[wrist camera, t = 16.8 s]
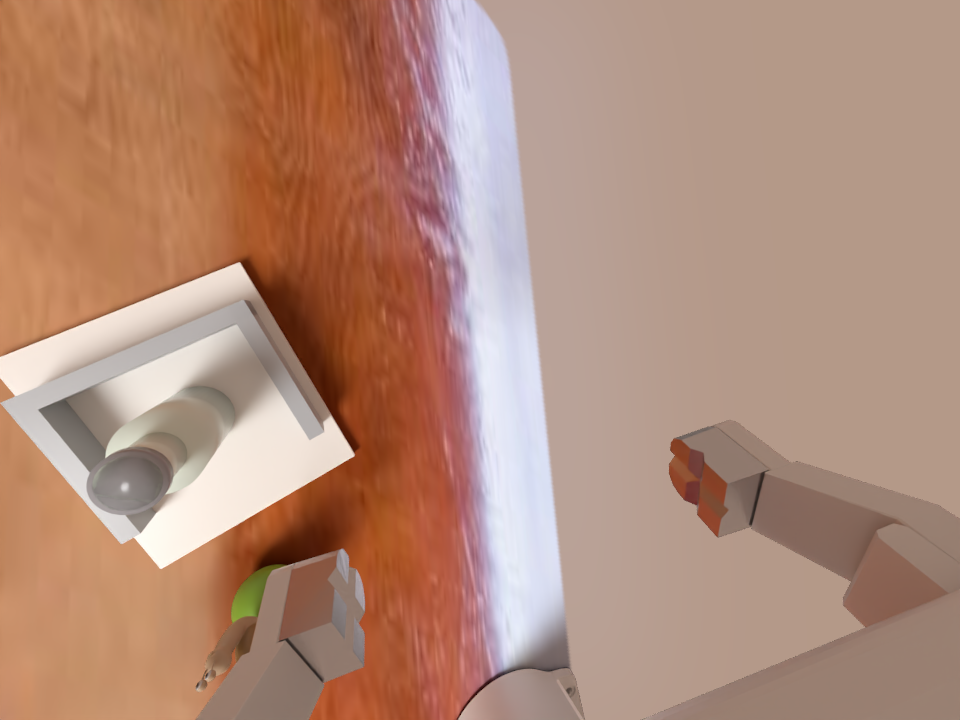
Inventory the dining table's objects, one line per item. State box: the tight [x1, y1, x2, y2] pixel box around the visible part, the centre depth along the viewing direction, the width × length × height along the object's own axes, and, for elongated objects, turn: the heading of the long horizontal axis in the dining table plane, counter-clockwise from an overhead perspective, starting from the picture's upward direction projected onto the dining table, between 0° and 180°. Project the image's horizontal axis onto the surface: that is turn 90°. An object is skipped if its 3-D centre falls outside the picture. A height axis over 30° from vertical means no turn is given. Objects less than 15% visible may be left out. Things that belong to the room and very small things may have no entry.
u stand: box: [0, 262, 355, 569], centre depth 29 cm, size 18×16×4 cm
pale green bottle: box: [86, 386, 235, 515], centre depth 24 cm, size 5×5×13 cm
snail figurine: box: [196, 564, 288, 692], centre depth 29 cm, size 5×6×12 cm
